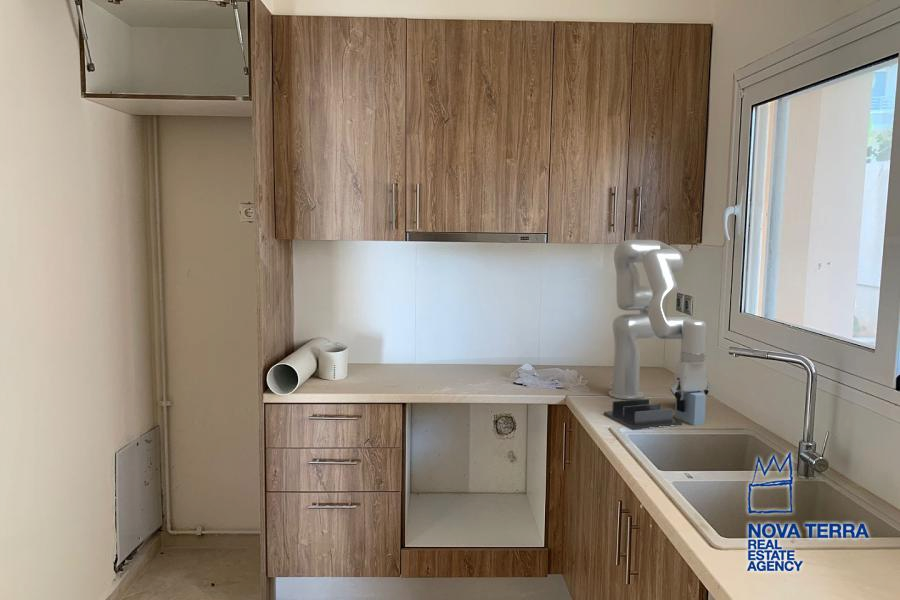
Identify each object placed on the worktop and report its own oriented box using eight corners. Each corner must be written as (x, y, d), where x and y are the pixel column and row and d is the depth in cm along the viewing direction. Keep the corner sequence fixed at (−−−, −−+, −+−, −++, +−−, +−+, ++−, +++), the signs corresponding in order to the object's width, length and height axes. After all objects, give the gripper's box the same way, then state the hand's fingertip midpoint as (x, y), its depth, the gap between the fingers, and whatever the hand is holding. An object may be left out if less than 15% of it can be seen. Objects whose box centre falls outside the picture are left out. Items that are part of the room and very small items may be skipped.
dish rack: (603, 414, 217) (604, 400, 217) (648, 410, 223) (649, 397, 222) (633, 429, 200) (634, 414, 200) (681, 425, 206) (682, 410, 205)
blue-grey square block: (674, 417, 215) (676, 388, 214) (684, 416, 217) (686, 387, 216) (694, 425, 206) (695, 395, 205) (704, 424, 207) (706, 394, 206)
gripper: (706, 354, 215) (704, 405, 217) (662, 356, 210) (660, 409, 212) (722, 358, 208) (719, 411, 210) (677, 360, 203) (674, 415, 205)
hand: (689, 409), depth 211 cm, fingers open, 6 cm apart
